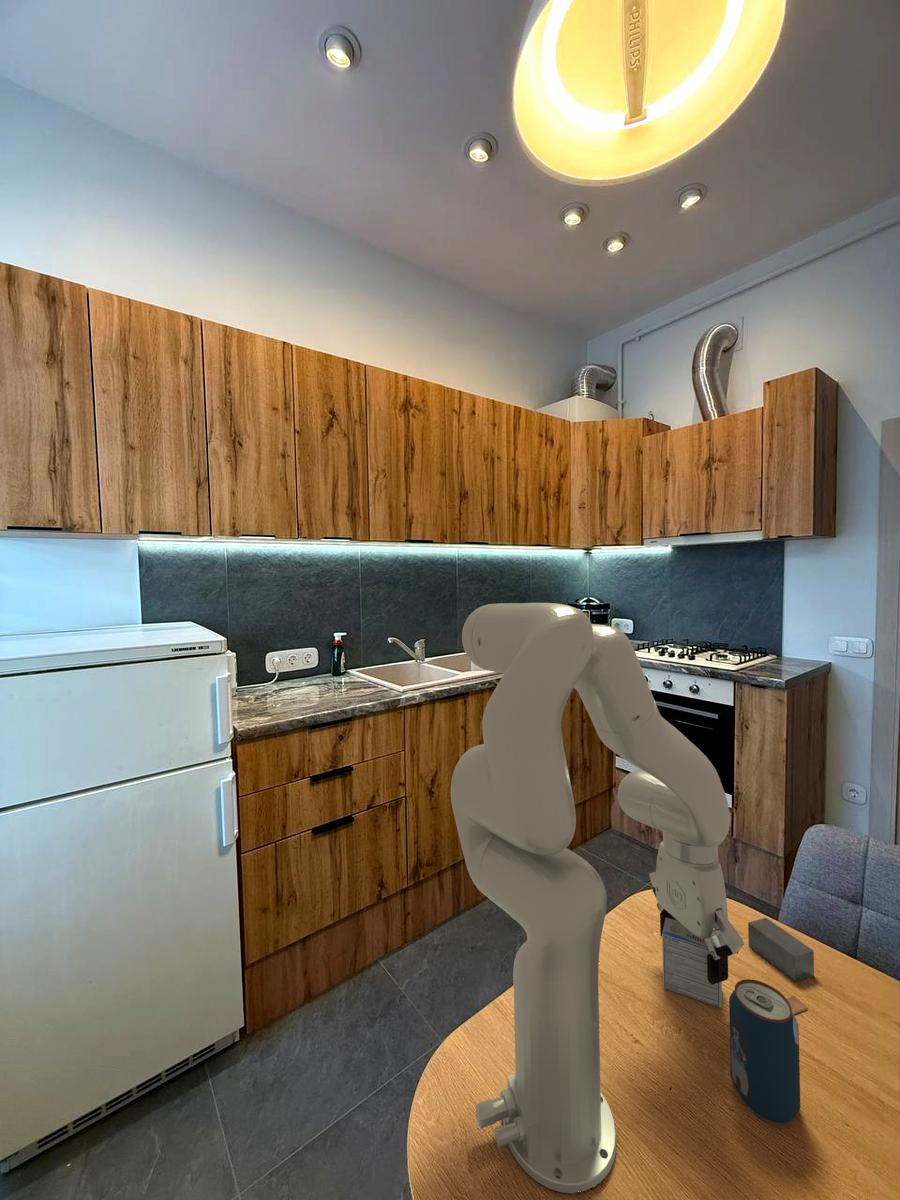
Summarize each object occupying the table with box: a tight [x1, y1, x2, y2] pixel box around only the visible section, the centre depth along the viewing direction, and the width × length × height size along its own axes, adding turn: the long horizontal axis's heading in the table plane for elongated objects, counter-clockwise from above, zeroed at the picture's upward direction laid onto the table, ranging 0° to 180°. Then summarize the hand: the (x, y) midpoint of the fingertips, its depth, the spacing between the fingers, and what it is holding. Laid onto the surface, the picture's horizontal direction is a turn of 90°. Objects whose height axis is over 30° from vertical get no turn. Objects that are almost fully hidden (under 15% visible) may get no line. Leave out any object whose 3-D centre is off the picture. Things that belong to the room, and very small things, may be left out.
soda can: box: [728, 978, 801, 1125], centre depth 55 cm, size 7×7×12 cm
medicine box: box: [661, 918, 723, 1009], centre depth 71 cm, size 8×4×9 cm, turn 60°
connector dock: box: [747, 917, 815, 1016], centre depth 75 cm, size 15×16×4 cm
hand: (692, 956), depth 71 cm, fingers closed on medicine box, 8 cm apart
